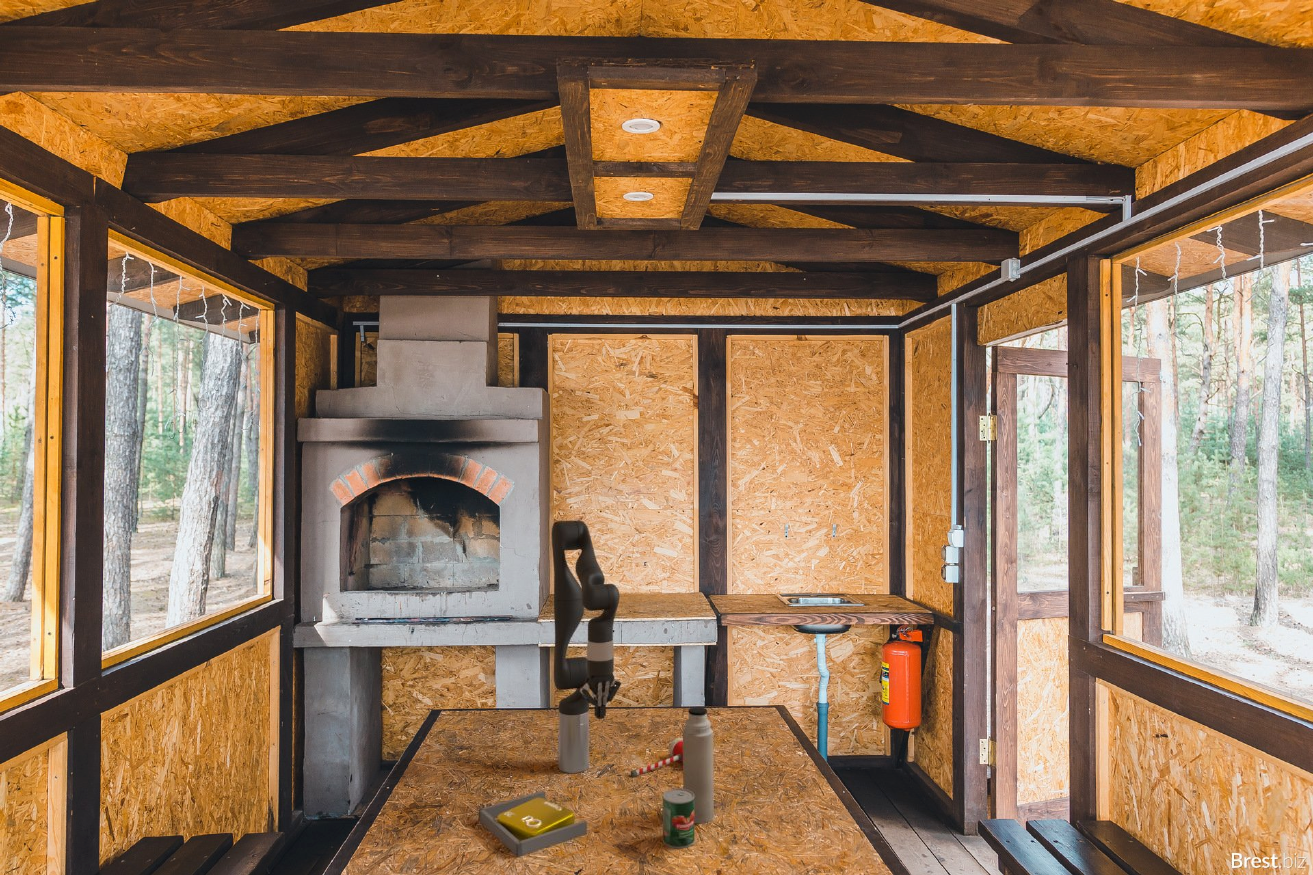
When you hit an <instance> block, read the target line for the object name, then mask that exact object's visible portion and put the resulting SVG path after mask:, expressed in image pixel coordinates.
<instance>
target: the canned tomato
mask: <svg viewBox="0 0 1313 875" xmlns="http://www.w3.org/2000/svg"><path fill="white" fill-rule="evenodd" d="M695 824H696V823H694V793H693V792H691V791H689V790H686V789H683V788H672V789H668V790H666V791H664V793H663V794H662V843H663V844H664V845H665V846H666V847H669V848H671V849H672V848H673V849H685V848H686V849H687V848H689V847H691V846H692V845H694V843H695V841H696V840H695Z"/></svg>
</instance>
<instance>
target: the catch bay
mask: <svg viewBox="0 0 1313 875" xmlns="http://www.w3.org/2000/svg"><path fill="white" fill-rule="evenodd" d="M546 794H547V793H546V791H545V790H541V791H537V792H534V793H530V794H527V795H523V796H520V797H516V798H512V799H509V800H507V801H506V800H505V801H502V802H500V803H496V804H492V805H489V806H485V807H482V808H479V809H478V822H479V823H480V824H482V825H483V826H484V827H485V829H486V830H488V831H489V832H490V833H491V834H492V835H493V836H495V838H496V839H497V840H498V841H499V842H500V843H502V844H503V845H504V846H505V847H506V848H507V849H509V851H511V852H512V853H513V854H514V855H515V856H516V857H517V858H520V857H522V856H525V855H528V854H531V853H534V852H538V851H540V850H543V849H546V848H549V847H552V846H554V845H555V846H556V845H558V844H561V843H564V842H567V841H571V840H572V839H576V838H579V837H581V836H585V835H587V834H588V822H587V820H582V821H579V822H575V824H572V825H569V826H566V827H563V828H560V829H556V830H553V831H550V832H547V833H544V834H541V835H538V836H535V837H532V838H529V839H526V840H523V841H519V840H518V839H516V838H515V837H514V836H513V835H512V834H511V833H510V832H509V831H507V830H506V829H505V828H504V827H503V826H502V825H501V824H500V823H499V822H497V820H496V818H498V815H499V814H501V813H503V812H505V811H508V810H510V809H512V808H515V807H517V806H519V805H521V804H524V803H526V802H528V801H530V800H533V799H535V798H543V799H546V798H547V797H546ZM546 800H547V799H546Z"/></svg>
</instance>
